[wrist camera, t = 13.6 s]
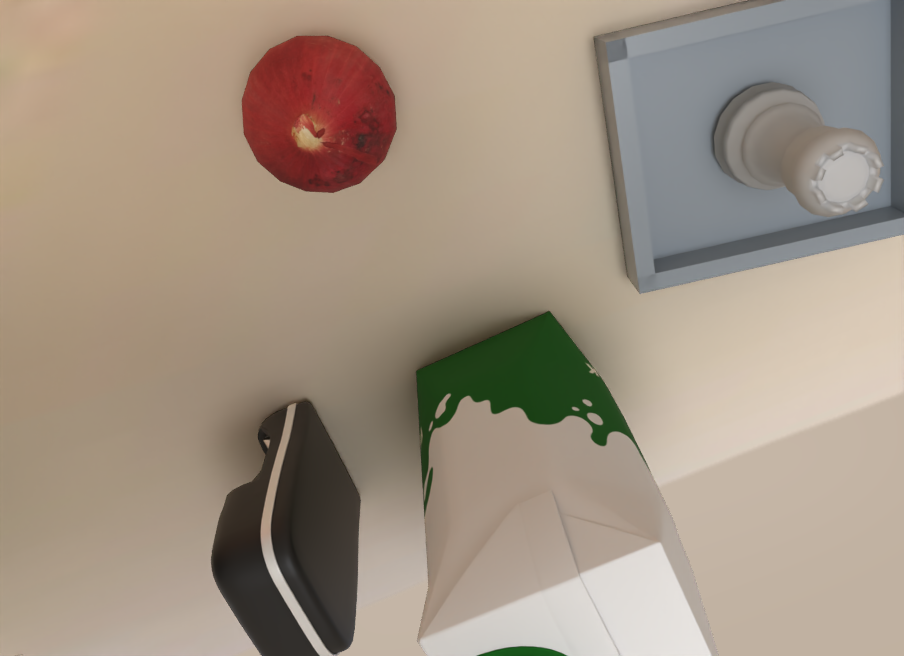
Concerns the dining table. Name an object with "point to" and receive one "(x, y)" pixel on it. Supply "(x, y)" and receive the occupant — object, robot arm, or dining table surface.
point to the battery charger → (292, 542)
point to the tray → (697, 115)
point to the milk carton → (544, 512)
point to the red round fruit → (318, 113)
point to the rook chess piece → (796, 151)
